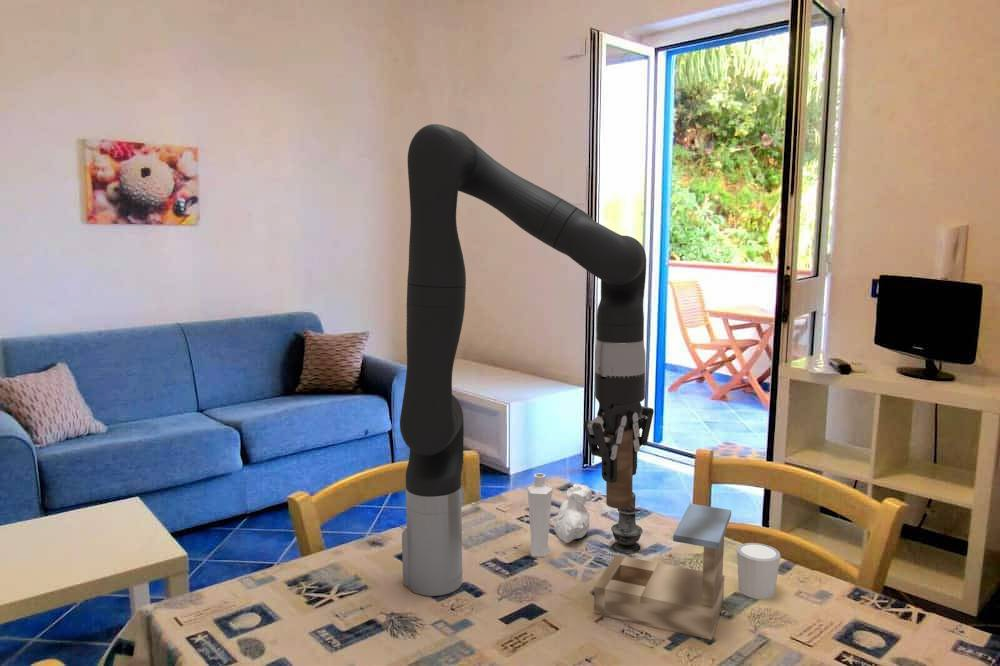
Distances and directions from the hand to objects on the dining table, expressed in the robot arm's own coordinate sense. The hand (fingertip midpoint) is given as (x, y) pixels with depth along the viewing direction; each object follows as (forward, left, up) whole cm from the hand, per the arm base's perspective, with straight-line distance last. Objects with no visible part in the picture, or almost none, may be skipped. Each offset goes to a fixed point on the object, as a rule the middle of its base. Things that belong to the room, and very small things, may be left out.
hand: (619, 477), depth 114 cm
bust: (-15, +23, -22) cm, 35 cm away
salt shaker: (-4, +22, -22) cm, 31 cm away
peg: (0, 0, -4) cm, 4 cm away
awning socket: (+6, +3, -22) cm, 23 cm away
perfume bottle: (-18, +13, -22) cm, 31 cm away
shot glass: (+20, +15, -22) cm, 33 cm away
